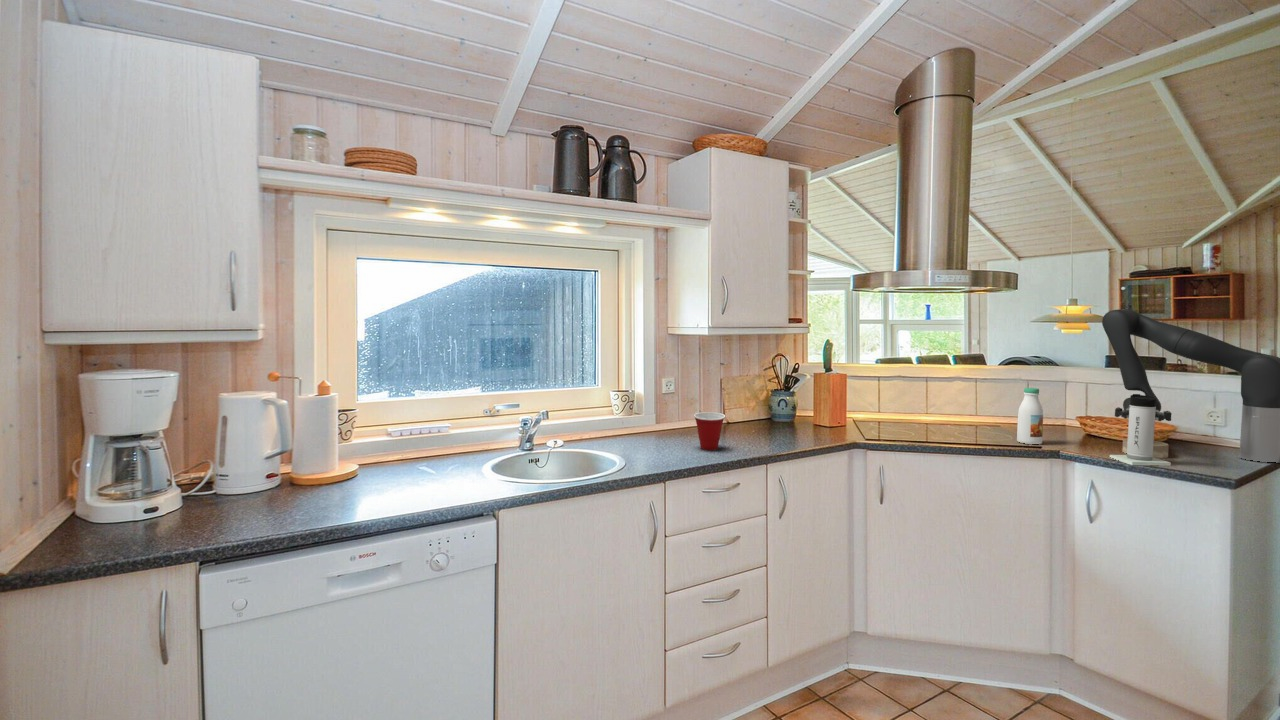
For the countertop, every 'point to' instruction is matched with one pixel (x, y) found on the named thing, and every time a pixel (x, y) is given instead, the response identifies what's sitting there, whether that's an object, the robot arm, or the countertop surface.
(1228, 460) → the countertop surface
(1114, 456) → the sage pad
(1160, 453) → the collar ring
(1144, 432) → the travel mug
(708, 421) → the plastic cup
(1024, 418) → the milk bottle
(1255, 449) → the robot arm
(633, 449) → the countertop surface
